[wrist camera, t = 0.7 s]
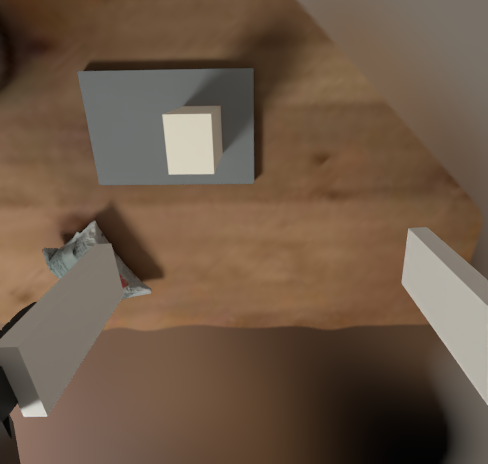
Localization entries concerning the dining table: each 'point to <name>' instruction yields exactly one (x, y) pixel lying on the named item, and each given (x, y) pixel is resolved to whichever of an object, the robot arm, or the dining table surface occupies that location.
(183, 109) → the block
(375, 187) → the dining table surface
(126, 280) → the packaged food
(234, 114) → the board
